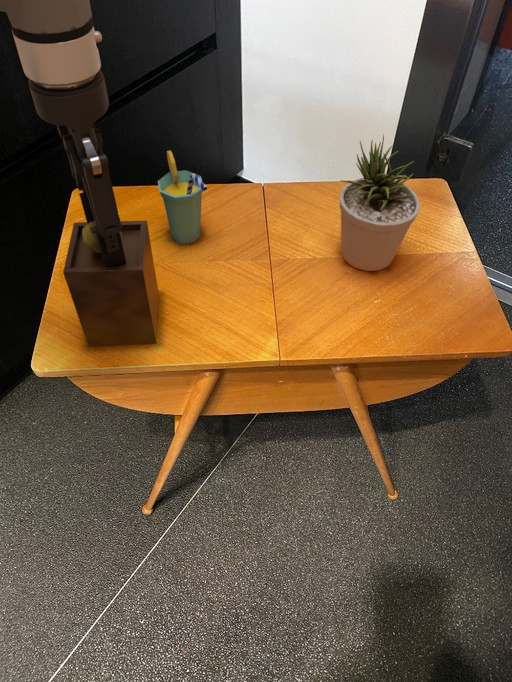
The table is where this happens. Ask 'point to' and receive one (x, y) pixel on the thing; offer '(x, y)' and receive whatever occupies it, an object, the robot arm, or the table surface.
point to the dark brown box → (114, 289)
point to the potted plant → (375, 212)
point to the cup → (182, 202)
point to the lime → (91, 238)
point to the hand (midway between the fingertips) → (107, 248)
